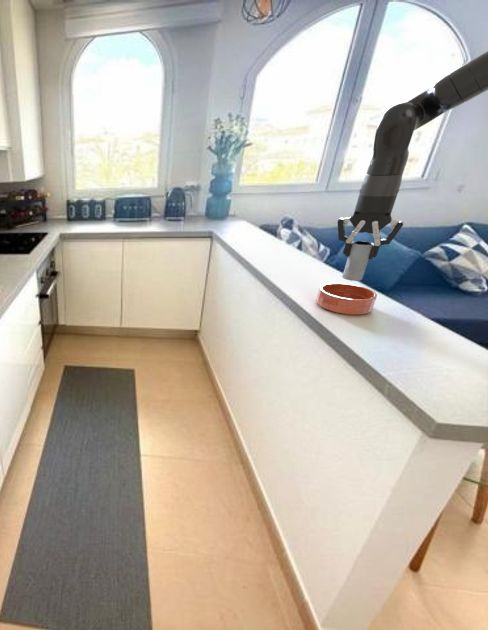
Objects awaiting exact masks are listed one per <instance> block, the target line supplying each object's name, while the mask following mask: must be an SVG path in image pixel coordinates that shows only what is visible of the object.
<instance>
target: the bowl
mask: <svg viewBox="0 0 488 630" xmlns="http://www.w3.org/2000/svg"><path fill="white" fill-rule="evenodd" d="M318 289H319V290H318V293H317V296H316V301H315V302H316V304H317V305H319V306H320V307H321V308H324V310H327V311H329V312H333V313H337V314H341V315H347V316H348V315H349V316H351V315H352V316H357V315H358V316H359V315H366V314H369V313H371V312H372V311H373V308H374V305H375V303H376V300H377V297H378V294H377V293H376V292H375V291H374V290H372V289H370V288H368V287H365V286H361V285H357V284H352V283H342V282H330V283H329V282H328V283H324V284H322V285H320V287H319V288H318Z"/></svg>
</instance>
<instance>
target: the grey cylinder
mask: <svg viewBox="0 0 488 630" xmlns="http://www.w3.org/2000/svg"><path fill="white" fill-rule="evenodd" d="M373 244H374V242H371V241H367V240H354V241H352V246H351V249H350V252H349V256H348V257H347V259H346V263H345V266H344V270H343V272H342V277H341V278H343V279H344V280H347V281H353V282H360V281H363V278H364V275H365V272H366V269H367V265H368V263H369V260H370V259H369V257H370V253H371V250H372V247H373Z"/></svg>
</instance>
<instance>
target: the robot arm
mask: <svg viewBox="0 0 488 630" xmlns="http://www.w3.org/2000/svg"><path fill="white" fill-rule="evenodd" d="M485 92H488V50H487V51H485V52H484V53H482V54H480V55H478V56H477V57H474V58H473V59H471V60H470V61H467V62H466V63H464V64H463V65H462V66H460V67H458V68H457V69H455V70H453V71H452V72H450V73H449V74H447V75H444V77H442V78H440V79H439V80H438V81H436V82H435V83H434V84H433V85H432V86H431V87H429V88H428V89H426V90H425V91H423V92H421V93H420V94H418V95H416V96H415V97H413V98H411V99H409V100H408V101H406V102H399V103H396V104H393V105H392V106H391V107H389V108H388V109H386V110H385V112H383V114H382V115H381V117H380V118H379V120H378V123H377V127H376V129H375V135H374V140H373V147H372V148H373V149H372V155H371V158H370V160H369V164H368V167H367V170H366V174H365V177H364V178H363V181H362V184H361V187H360V189H359V194H358V197H357V201H356V204H355V208H354V212H353V214H351V216H349V217H340V218H338V220H337V236H338V241H340V242H341V241H342V242H344V243H345V244H344V248H343V251H342V255H344V257H346V258H348V256H349V252H350V249H351V246H352V242H353V240H354V239H355V238H356V236H357V235H358V234H359V233H360V234H363V233H367V234H372V236H373V247H372V250H371V253H370V257H369V260H373V258H377V256H378V254H379V251H380V247H381V246H384V245H390V244H391V242H392V241H393V239H395V237H396V235H398V233H399V232H400V231H401V229H402V227H403V226H404V221H403V220H396V219H393V218H392V212H393V209H394V206H395V204H396V200H397V197H398V194H399V192H400V188H401V184H402V179H403V175H404V172H405V168H406V166H407V162H408V159H409V155H410V151H409V146H410V144H411V140H412V137H413V135H414V132H415V131H416V130H418V129H420V128H421V127H423V126H425V125H426V124H428V123H430V122H432V121H433V120H435V119H437V118H438V117H440V116H441V115H443V114H444V113H446V112H448V111H450V110H453V109H455V108H456V107H459V106H461V105H463V104H465V103H467V102H469V101H470V100H472V99H474V98H476V97H478V96H480V95H481V94H483V93H485ZM349 222H350V223H351V225H352V227H353V228H354V229H353V230H352V231H351V233H350V234H349V235H346V228H345V227H346V226H347V225H348V224H349ZM389 224H390V226H389V228H390V229H391V231H390V232H389V233H388V234H387V236H386V237H385V238H382V237H381V236H382V235H381V234H382V233H381V230H382V229H384V228H385V227H386V226H388V225H389Z"/></svg>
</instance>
